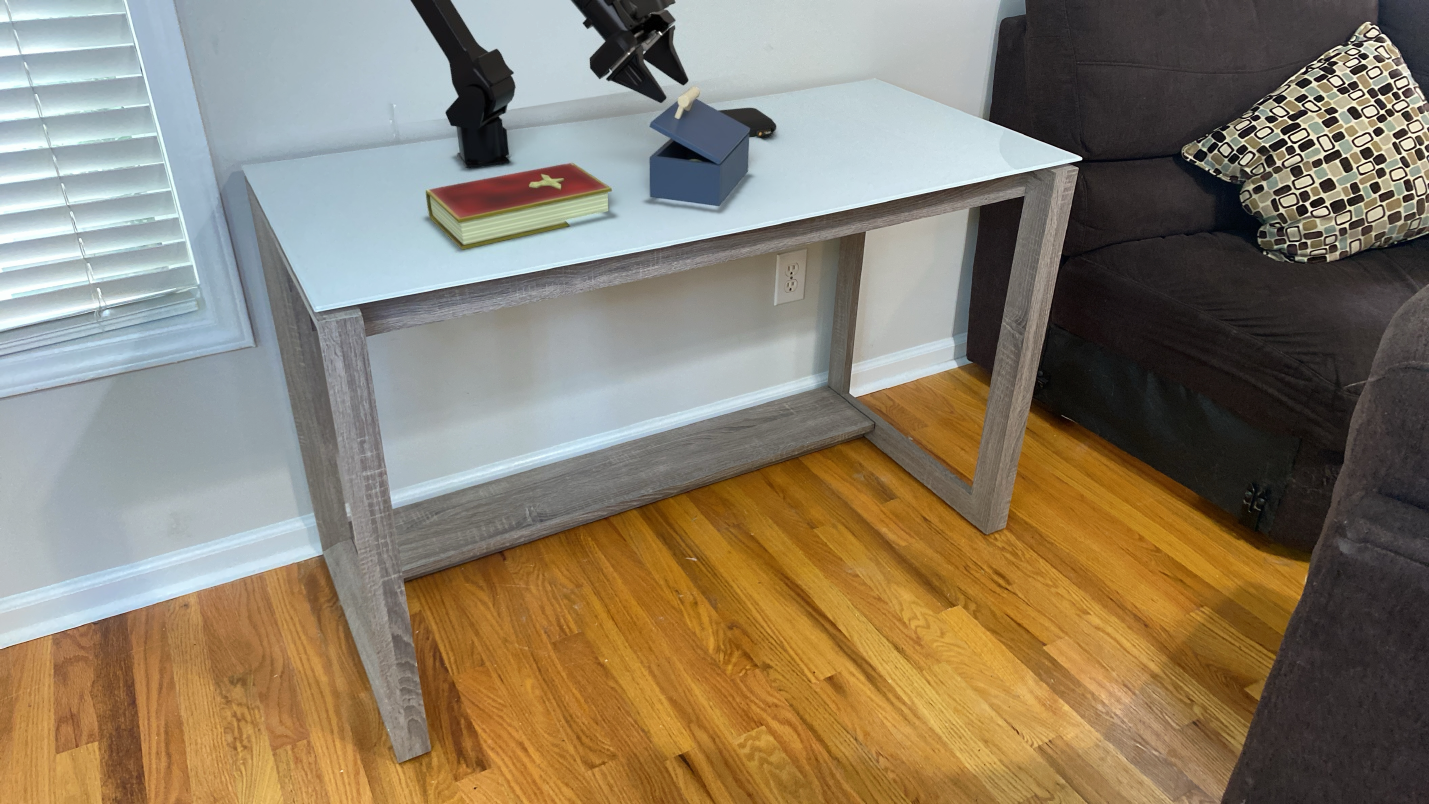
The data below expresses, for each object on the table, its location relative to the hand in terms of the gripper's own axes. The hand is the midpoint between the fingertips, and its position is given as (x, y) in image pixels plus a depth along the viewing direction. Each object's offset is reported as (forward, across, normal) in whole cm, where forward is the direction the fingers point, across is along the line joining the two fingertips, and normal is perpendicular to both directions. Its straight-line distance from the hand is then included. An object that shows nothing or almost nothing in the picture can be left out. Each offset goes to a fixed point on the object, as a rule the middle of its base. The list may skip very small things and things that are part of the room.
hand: (675, 91), depth 132 cm
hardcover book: (-1, -18, +20) cm, 27 cm away
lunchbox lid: (+6, 0, +1) cm, 6 cm away
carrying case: (+10, +25, +9) cm, 28 cm away
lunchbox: (+12, 0, +7) cm, 14 cm away
